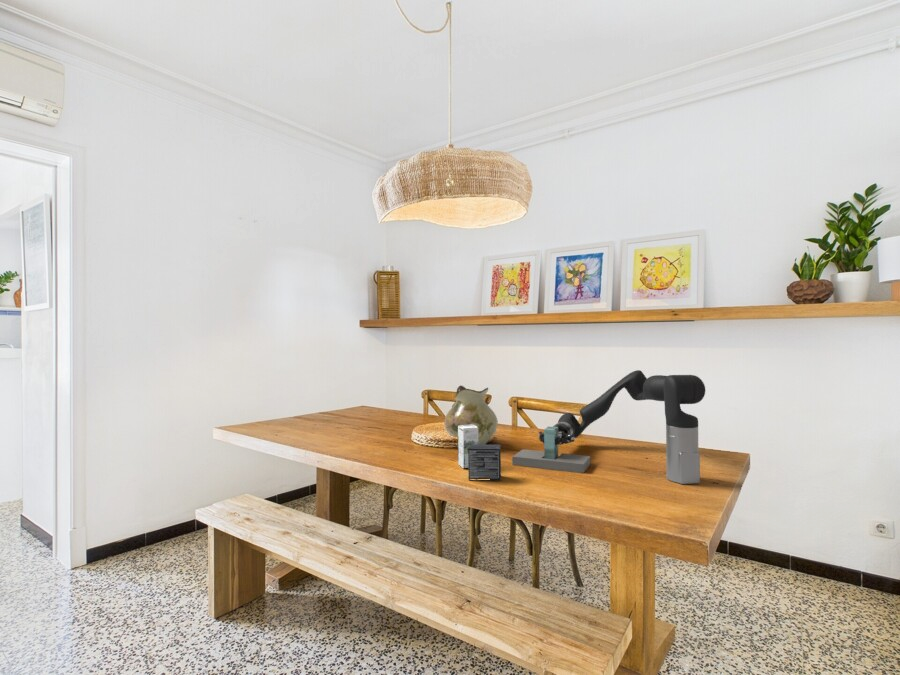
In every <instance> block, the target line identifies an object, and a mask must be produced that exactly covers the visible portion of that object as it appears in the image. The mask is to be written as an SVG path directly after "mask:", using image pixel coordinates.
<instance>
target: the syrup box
mask: <svg viewBox="0 0 900 675" xmlns="http://www.w3.org/2000/svg"><path fill="white" fill-rule="evenodd" d="M469 445H478V427H477V426H475V425H459V426H458V446H457V454H458V455H457V465H458V466H459V465H460V466H461V467H460V466H459V467H460V468H461V469H463V468H468V469H469V466H468V447H469Z"/></svg>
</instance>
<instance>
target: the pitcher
mask: <svg viewBox="0 0 900 675" xmlns="http://www.w3.org/2000/svg"><path fill="white" fill-rule="evenodd" d="M488 391H489V387H486V388H484V389H483V390H480V391H479V390H478V391H477V390H475V389H471V388H466V387H465V386H464V385H459V386H458V387H457V388H456V393H455V397H454V398H455V401H454V403H453V404H452V406H451V408H450V409H449V411H448V412H447V413H446V416H445V418H444V428H445V431H446V433H447V434H448V436H449V435H450V436H453V437H457V438H458V426H459V425H475V426H477V427H478V445H487V443H488V441H489V440H491V439H492V437H493V436H494V435H495V433H496V431H497V429H498V418H497V415H496V413H495V411H493V409H492V408H491V407H490V406H489V405H488V404H487V402H486V401H485V397H486V394H487V392H488ZM450 436H449V437H450Z"/></svg>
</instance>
